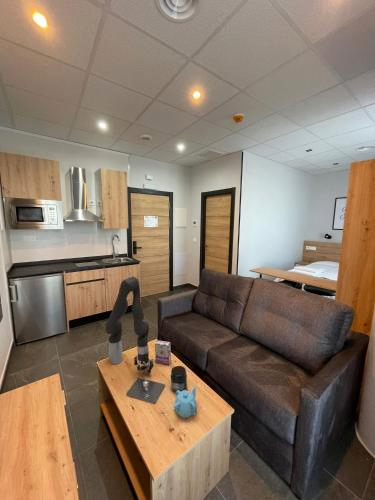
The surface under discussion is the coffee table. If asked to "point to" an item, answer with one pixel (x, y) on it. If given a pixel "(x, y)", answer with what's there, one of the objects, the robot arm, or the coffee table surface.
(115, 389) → the coffee table surface
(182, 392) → the teapot
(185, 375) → the supplement container
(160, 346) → the candy bar box
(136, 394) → the grey metal plate
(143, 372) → the collar
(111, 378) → the coffee table surface
